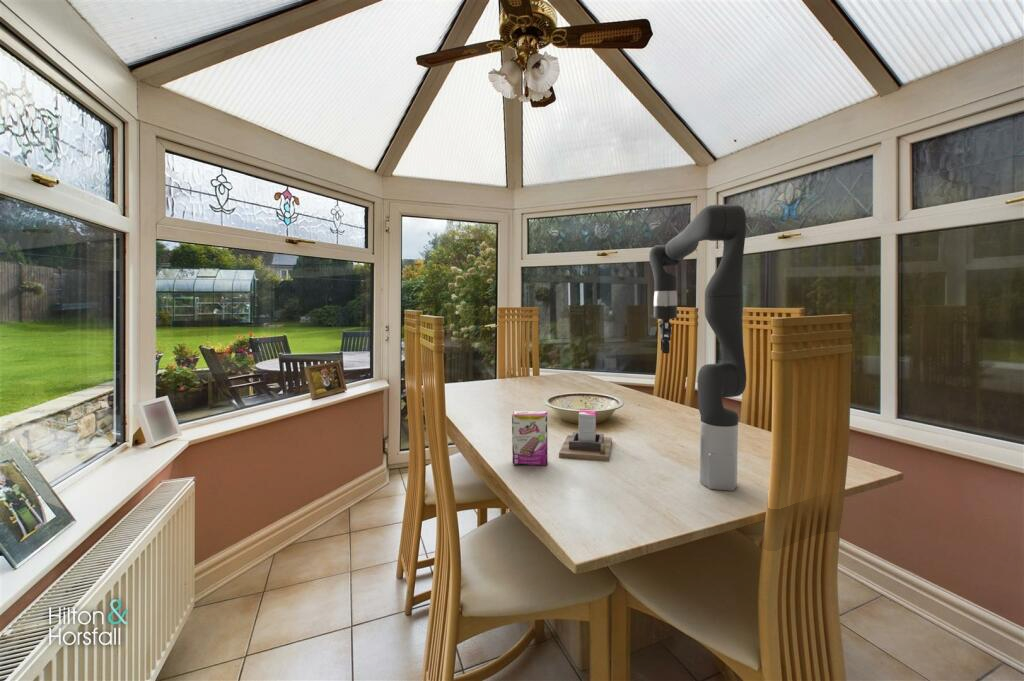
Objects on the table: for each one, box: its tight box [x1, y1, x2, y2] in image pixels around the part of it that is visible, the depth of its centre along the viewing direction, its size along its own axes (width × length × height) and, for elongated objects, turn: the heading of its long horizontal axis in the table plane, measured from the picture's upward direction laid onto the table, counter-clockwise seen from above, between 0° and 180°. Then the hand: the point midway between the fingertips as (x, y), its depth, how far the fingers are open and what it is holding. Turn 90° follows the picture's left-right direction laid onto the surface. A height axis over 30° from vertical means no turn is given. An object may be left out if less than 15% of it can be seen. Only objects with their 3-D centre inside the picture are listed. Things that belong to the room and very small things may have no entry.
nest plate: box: [558, 432, 613, 462], centre depth 148 cm, size 20×16×4 cm
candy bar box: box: [511, 410, 549, 466], centre depth 136 cm, size 11×5×16 cm, turn 84°
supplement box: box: [577, 409, 597, 442], centre depth 148 cm, size 6×6×12 cm
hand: (665, 351), depth 147 cm, fingers open, 8 cm apart
